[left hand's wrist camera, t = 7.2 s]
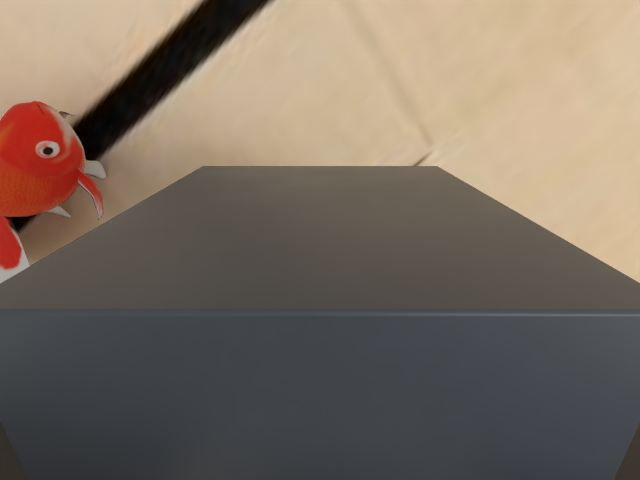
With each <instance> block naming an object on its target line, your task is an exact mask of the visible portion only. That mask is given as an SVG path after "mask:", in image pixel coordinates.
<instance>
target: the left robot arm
mask: <svg viewBox="0 0 640 480" xmlns="http://www.w3.org/2000/svg"><path fill="white" fill-rule="evenodd" d="M0 480H27V479H26V477H25V475H24V472H23V470H22V468H21V466H20V464H19V461H18V459H17V457H16V455H15V453H14V450H13V448H12V446H11V444H10V442H9V439H8V437H7V435H6V433H5V431H4V428H3V426H2V424H1V422H0ZM614 480H640V423H639V426H638V428H637V430H636V432H635V434H634V437H633V439H632V441H631V443H630V445H629V448H628V450H627V452H626V454H625V456H624V458H623V461H622V463H621V465H620V467H619V469H618V472H617V474H616V476H615V478H614Z"/></svg>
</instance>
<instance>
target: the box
mask: <svg viewBox="0 0 640 480" xmlns="http://www.w3.org/2000/svg"><path fill="white" fill-rule="evenodd" d="M0 422H1V424H2V426H3V428H4V431H5V433H6V435H7V437H8V439H9V442H10V444H11V446H12V448H13V450H14V453H15V455H16V457H17V459H18V461H19V464H20V466H21V468H22V470H23V472H24V475H25V477H26V479H27V480H614V478H615V476H616V474H617V472H618V469H619V467H620V465H621V463H622V461H623V458H624V456H625V454H626V452H627V450H628V448H629V445H630V443H631V441H632V439H633V437H634V434H635V432H636V430H637V428H638V426H639V423H640V283H639V282H637V281H635V280H633V279H632V278H630V277H628V276H626V275H625V274H623V273H621V272H620V271H618V270H616V269H614V268H613V267H611V266H609V265H607V264H606V263H604V262H602V261H600V260H599V259H597V258H595V257H594V256H592V255H590V254H588V253H587V252H585V251H583V250H581V249H580V248H578V247H576V246H574V245H573V244H571V243H569V242H568V241H566V240H564V239H562V238H561V237H559V236H557V235H555V234H554V233H552V232H550V231H548V230H547V229H545V228H543V227H541V226H540V225H538V224H536V223H535V222H533V221H531V220H529V219H528V218H526V217H524V216H522V215H521V214H519V213H517V212H515V211H514V210H512V209H510V208H509V207H507V206H505V205H503V204H502V203H500V202H498V201H496V200H495V199H493V198H491V197H489V196H488V195H486V194H484V193H483V192H481V191H479V190H477V189H476V188H474V187H472V186H470V185H469V184H467V183H465V182H463V181H462V180H460V179H458V178H457V177H455V176H453V175H451V174H450V173H448V172H446V171H444V170H443V169H441V168H439V167H437V166H203V167H201V168H199V169H197V170H196V171H194V172H192V173H191V174H189V175H187V176H185V177H184V178H182V179H180V180H178V181H177V182H175V183H173V184H171V185H170V186H168V187H166V188H165V189H163V190H161V191H159V192H158V193H156V194H154V195H152V196H151V197H149V198H147V199H145V200H144V201H142V202H140V203H139V204H137V205H135V206H133V207H132V208H130V209H128V210H126V211H125V212H123V213H121V214H120V215H118V216H116V217H114V218H113V219H111V220H109V221H107V222H106V223H104V224H102V225H100V226H99V227H97V228H95V229H94V230H92V231H90V232H88V233H87V234H85V235H83V236H81V237H80V238H78V239H76V240H74V241H73V242H71V243H69V244H68V245H66V246H64V247H62V248H61V249H59V250H57V251H55V252H54V253H52V254H50V255H48V256H47V257H45V258H43V259H42V260H40V261H38V262H36V263H35V264H33V265H31V266H29V267H28V268H26V269H24V270H22V271H21V272H19V273H17V274H16V275H14V276H12V277H10V278H9V279H7V280H5V281H3V282H2V283H0Z"/></svg>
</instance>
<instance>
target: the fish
mask: <svg viewBox="0 0 640 480" xmlns="http://www.w3.org/2000/svg"><path fill="white" fill-rule="evenodd" d="M67 115H72V114H68V113H66V112H59V113H58V112H57V111H56V110H55V109H53V108H52V107H50V106H48V105H46V104H44V103H42V102H36V101H34V102H31V103H20V104H16V105H14V106H13V107H12V108H10V109H9V110H8V111H7V113H6V114H5V115H4V116H3V117H2V119H1V121H0V283H2V282H3V281H5V280H7V279H9V278H10V277H12V276H14V275H16V274H17V273H19V272H21V271H22V270H24V269H26V268H28V267H29V266H30V265H29V262H28V259H27V257H26V254H25V252H24V249H23V246H22V244H21V241H20V238H19V236H18V233H17V230H16V228H15V225H14V222H13V220H12V218H11V217H21V216H31V215H35V214H39V213H43V212H48V213H53V214H57V215H61V216H65V217H70V215H69V214H68V213H67V212H66V211H65V210H63V209H62V208H61V207H60V206H58V205H60V204H61V203H63V202H64V201H66V200H67V199H69V198H70V197H71V195H72V194H73V193H74V191H75V190H76V189H77V187H78V186H79V184H80V185H81V186H82V187H83V188H84V189H85V190H86V191H87V192H88V193H89V194H90V195H91V196H92V198H93V200H94V202H95V206H96V209H97V212H98V215H99V219H100V218H101V216H102V214H103V201H102V196H101V193H100V191H99V190H98V188H97V187H96V185H95V183H94V182H93V180H92V179H91V178H90V177H88V176H87V175H92V176H95V177H98V178H100V179H104V178H105V177H106V173H105V170H104V168H103V166H102V164H101V163H100V162H98V161H88V160H86V158H85V154H84V149H83V146H82V144H81V142H80V140H79V138H78V136H77V135H76V133H75V132H74V130H73V129H72V127H71V126H70V125H69V123H68V122H67V121H66V120H65V118H66V116H67ZM74 116H75V115H74ZM99 219H98V220H99Z"/></svg>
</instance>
